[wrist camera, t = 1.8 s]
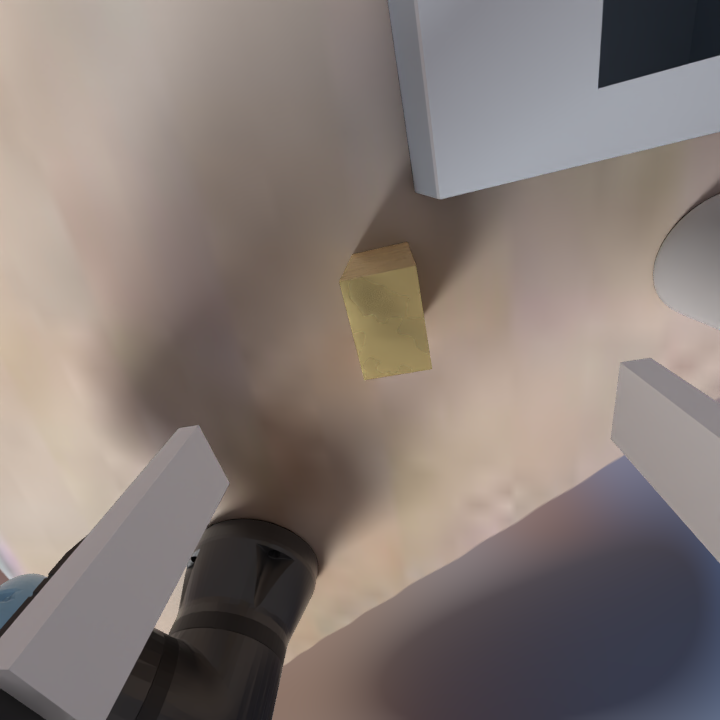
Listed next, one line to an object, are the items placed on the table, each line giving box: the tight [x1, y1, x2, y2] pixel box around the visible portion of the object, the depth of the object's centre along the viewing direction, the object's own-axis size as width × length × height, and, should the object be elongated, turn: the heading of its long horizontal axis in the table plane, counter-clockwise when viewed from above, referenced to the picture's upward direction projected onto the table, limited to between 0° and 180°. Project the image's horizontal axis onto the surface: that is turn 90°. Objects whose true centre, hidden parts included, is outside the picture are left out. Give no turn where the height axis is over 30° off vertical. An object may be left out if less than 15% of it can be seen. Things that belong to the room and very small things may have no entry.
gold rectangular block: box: [339, 242, 432, 380], centre depth 22 cm, size 4×6×8 cm, turn 13°
